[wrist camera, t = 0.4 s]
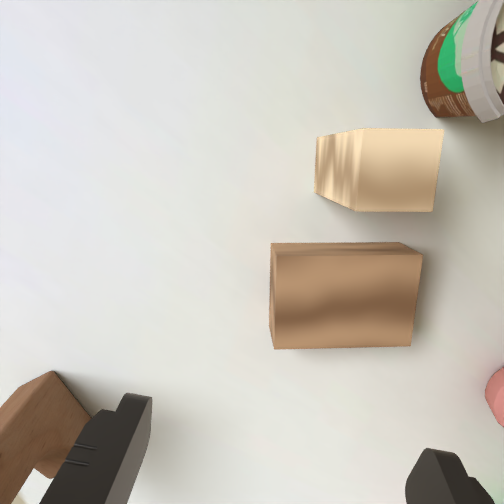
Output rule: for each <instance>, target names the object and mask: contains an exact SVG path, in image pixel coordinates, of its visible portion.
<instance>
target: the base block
mask: <svg viewBox="0 0 504 504" xmlns="http://www.w3.org/2000/svg"><path fill="white" fill-rule="evenodd" d="M422 259H423V255H422V254H420V253H419V252H417V251H415V250H413V249H411V248H409V247H407V246H405V245H403V244H401V243H399V242H369V243H271V258H270V306H269V328H270V332H271V337H272V341H273V346H274V349H313V348H354V347H395V346H411V339H412V332H413V324H414V317H415V310H416V303H417V295H418V288H419V281H420V274H421V267H422Z"/></svg>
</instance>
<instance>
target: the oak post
mask: <svg viewBox="0 0 504 504" xmlns="http://www.w3.org/2000/svg"><path fill="white" fill-rule="evenodd" d="M443 135H444V129H383V128H362V129H357V130H352V131H347V132H342V133H337V134H332V135H327V136H322V137H317V145H316V163H315V181H314V193H317V194H319V195H321V196H323V197H325V198H328V199H330V200H332V201H334V202H336V203H339V204H341V205H343V206H345V207H347V208H350V209H352V210H354V211H387V212H432V211H433V204H434V197H435V190H436V184H437V177H438V170H439V163H440V156H441V149H442V142H443Z"/></svg>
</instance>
